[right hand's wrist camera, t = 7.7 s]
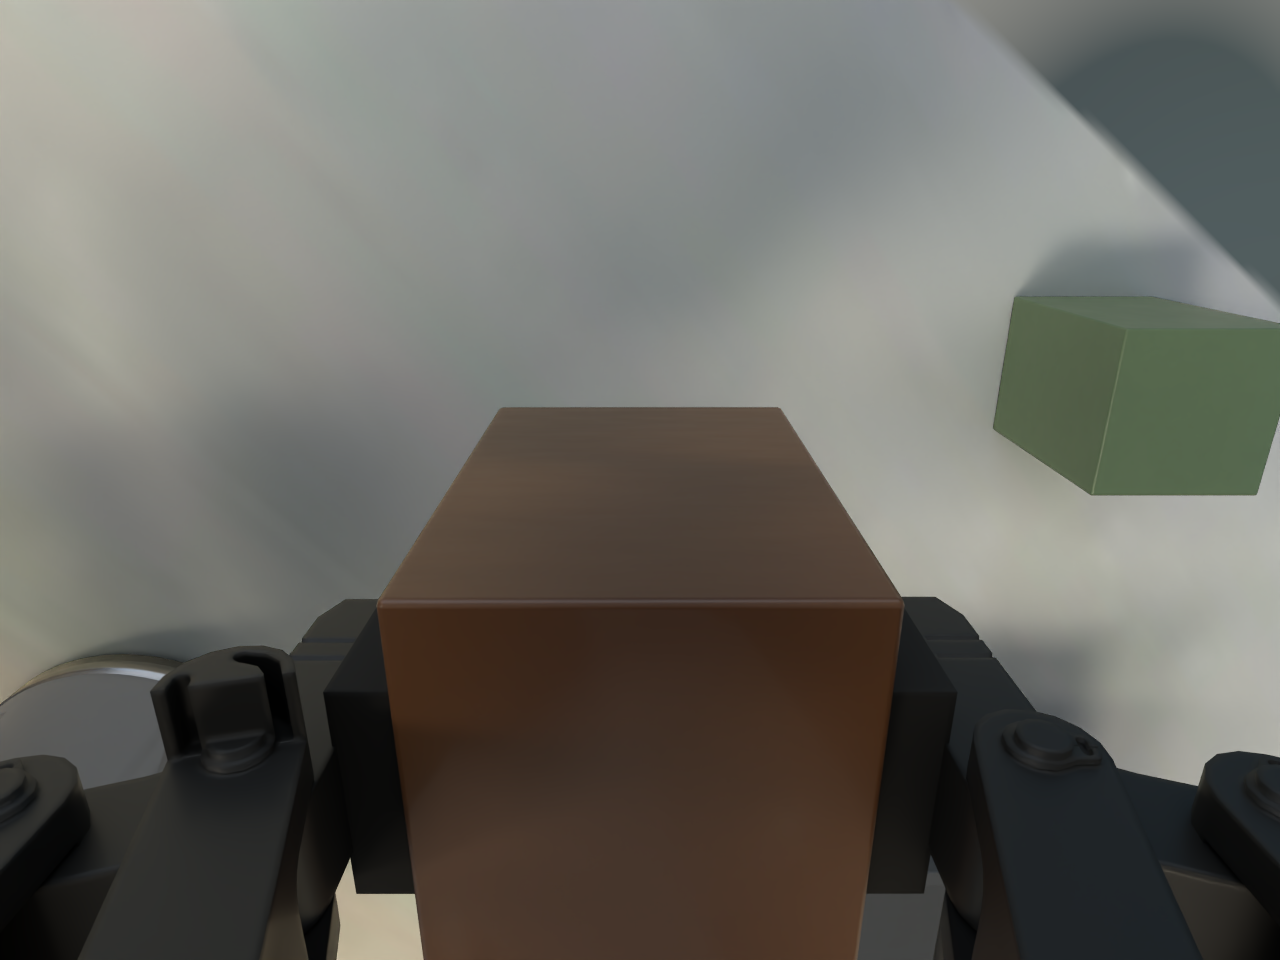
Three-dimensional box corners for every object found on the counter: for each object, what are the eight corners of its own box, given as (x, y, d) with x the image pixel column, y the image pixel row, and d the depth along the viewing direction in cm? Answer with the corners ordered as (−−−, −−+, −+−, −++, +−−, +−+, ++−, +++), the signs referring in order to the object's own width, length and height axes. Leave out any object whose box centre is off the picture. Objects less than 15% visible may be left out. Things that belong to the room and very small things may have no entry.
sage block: (992, 429, 30) (1090, 496, 23) (1013, 296, 28) (1126, 328, 22) (1122, 429, 30) (1257, 496, 23) (1152, 296, 28) (1306, 328, 22)
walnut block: (515, 649, 16) (424, 983, 9) (498, 406, 14) (373, 602, 7) (765, 649, 16) (857, 983, 9) (781, 405, 14) (908, 602, 7)
